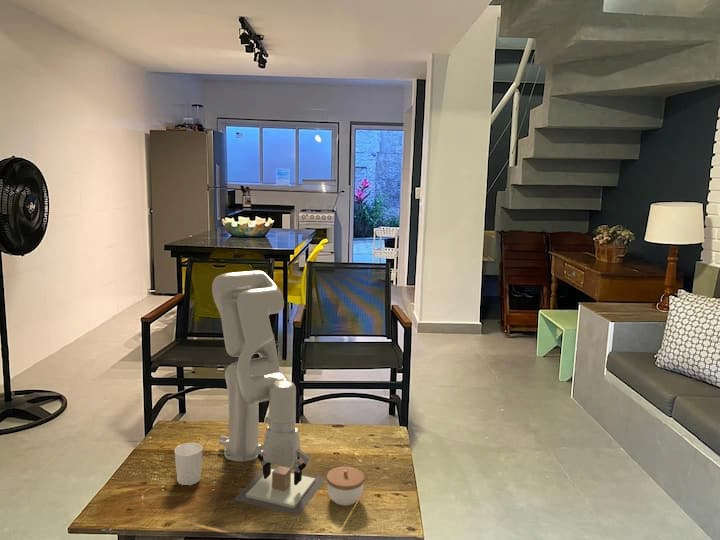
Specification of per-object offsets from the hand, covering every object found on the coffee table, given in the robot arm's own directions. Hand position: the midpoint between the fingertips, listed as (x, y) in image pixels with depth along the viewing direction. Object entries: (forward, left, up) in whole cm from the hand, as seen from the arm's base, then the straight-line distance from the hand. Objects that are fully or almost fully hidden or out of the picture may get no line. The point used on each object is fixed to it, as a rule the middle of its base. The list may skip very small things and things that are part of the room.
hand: (282, 479), depth 165 cm
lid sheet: (0, 0, -3) cm, 3 cm away
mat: (0, 0, -4) cm, 4 cm away
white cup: (-28, -5, -4) cm, 29 cm away
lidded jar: (+19, +2, -4) cm, 19 cm away
